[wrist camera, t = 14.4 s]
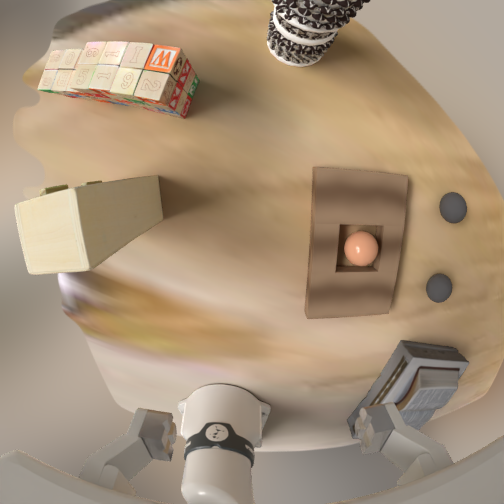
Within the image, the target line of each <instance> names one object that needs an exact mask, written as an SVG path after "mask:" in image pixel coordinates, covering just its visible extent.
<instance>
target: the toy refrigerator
mask: <svg viewBox="0 0 504 504" xmlns="http://www.w3.org/2000/svg"><path fill="white" fill-rule="evenodd" d="M15 215H16V221H17V226H18V231H19V235H20V240H21V245H22V250H23V253H24V258H25V262H26V265H27V269H28V272H29V273H30V274H32V275H40V274H53V273H66V272H80V271H89V270H92V269H94V268H95V267H97V266H98V265H99V264H101V263H102V262H103V261H105V260H106V259H107V258H109V257H110V256H111V255H113V254H114V253H116V252H117V251H118V250H120V249H121V248H122V247H124V246H125V245H127V244H128V243H129V242H131V241H132V240H134V239H135V238H137V237H138V236H140V235H141V234H143V233H144V232H146V231H147V230H149V229H150V228H152V227H153V226H155V225H156V224H158V223H159V222H161V221H162V220H163V211H162V204H161V196H160V187H159V179H158V176H157V175H155V176H145V177H137V178H130V179H122V180H116V181H109V182H103V183H102V181H94V182H86V183H82V184H81V186H79V187H74V188H69V189H68V185H67V184H66V185H60V186H55V187H49V188H44V189H41V190H40V197H36V198H33V199H29V200H26V201H23V202H20V203H17V204H16V205H15Z"/></svg>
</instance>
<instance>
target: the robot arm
mask: <svg viewBox="0 0 504 504" xmlns="http://www.w3.org/2000/svg"><path fill="white" fill-rule="evenodd" d="M270 408H271V407H270V405H268V404H266V403H264V402H261V401H259V400H258V399H256V398H255V397H254V396H253V395H252V394H251V393H249V392H248V391H246V390H244V389H241V388H239V387H235V386H231V385H224V384H215V385H208V386H204V387H201V388H199V389H197V390H196V391H194V392H193V393H192V394H191V395H190V396H189V397H188V398H187V399H184V400H182V401H180V402H179V403H178V409H179V411H180V412H181V414H182V416H183V420H182V426H181V434H182V435H183V437H184V438H185V440H187V442H186V446H185V450H184V458H185V460H186V463H185V469H184V474H183V480H182V486H181V491H182V494H183V497H184V498H185V500H186V501H187V502H188V504H255V502H254V497H253V489H252V475H251V468H252V466H253V464H254V456H255V455H254V448H255V447H258V448H260V447H261V445H262V430H263V428H264V425H265V423H266V420H267V418H268V416H269V413H270ZM359 414H360V417H358V418H357V419H356V422H355V433H356V436H357V438H359V439H360V440H361V442H360V444H359V445H360V448H361V451H362V454H363V455H366V454H371V453H376V452H380V453H381V454H382V455H383V456H384V457H386V458H387V459H388V460H389V461H391V462H392V463H393V464H394V465H396V466H397V467H398V468H399V469H400V470H402V471H403V472H404V474H403V475H402V476H401V477H400V479H399V480H398V482H397V483H398V487H394V488H391V489H388V490H385V491H381V492H378V493H374V494H370V495H366V496H362V497H358V498H354V499H349V500H345V501H340V502H334V503H329V504H504V435H503V436H501V437H499V438H498V439H496V440H495V441H493V442H492V443H490V444H488V445H487V446H485V447H483V448H482V449H480V450H478V451H477V452H475V453H473V454H471V455H469V456H468V457H466V458H464V459H462V460H460V461H458V462H456V463H453V461H452V459H451V457H450V455H449V453H448V452H447V450H446V448H445V446H444V445H443V444H441V443H439V442H437V441H436V440H434V439H432V438H430V437H428V436H426V435H425V434H423V433H421V432H420V431H418V430H416V429H414V428H413V427H411V426H409V425H408V426H406V425H405V423H404V421H403V419H402V417H401V415H400V413H399V411H398V409H397V407H396V406H395V404H394V403H393V402H388V403H384V404H378V405H373V406H368V407H363V408H361V410H360V412H359ZM172 421H173V416H172V413H167V412H161V411H154V410H149V409H143V408H138V409H137V410H136V411H135V414H134V416H133V419H132V422H131V424H130V427H129V429H128V432H127V434H123V435H121V436H120V437H118V438H117V439H115V440H114V441H112V442H110V443H109V444H107V445H106V446H104V447H103V448H101V449H100V450H98V451H97V452H95V453H93V454H92V455H90V456H89V457H87V459H86V461H85V464H84V466H83V468H82V471H81V473H80V476H79V478H77V477H75V476H72V475H70V474H67V473H65V472H63V471H61V470H58V469H56V468H54V467H52V466H50V465H48V464H46V463H44V462H41V461H40V460H38V459H36V458H34V457H32V456H30V455H28V454H27V453H25V452H23V451H20V450H14V451H11V452H9V453H6V454H4V455H1V456H0V504H170V503H165V502H159V501H154V500H150V499H145V498H141V497H137V496H136V490H135V489H134V488H133V487H132V485H131V484H130V483H129V481H130V480H131V479H132V478H133V477H134V476H136V475H137V474H138V473H139V472H140V471H141V470H142V469H143V468H144V467H145V466H146V465H148V464H149V463H150V462H151V461H152V459H157V460H164V461H171V458H172V454H173V448H172V444H174V443H175V441H176V434H177V430H176V425H175V423H174V422H172Z"/></svg>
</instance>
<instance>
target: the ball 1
mask: <svg viewBox="0 0 504 504" xmlns="http://www.w3.org/2000/svg"><path fill="white" fill-rule="evenodd" d="M426 291H427V295H428V297H429V298H430V299H431V300H432V301H434V302H438V303H440V302H444V301H445V300H447V299H448V298H449V296H450V295H451V292H452V283H451V281H450V279H449V278H448V277H447V276H446V275H444V274H436V275H434V276H432V277H431V278H430V279H429V281H428V283H427V287H426Z"/></svg>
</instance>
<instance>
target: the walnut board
mask: <svg viewBox="0 0 504 504" xmlns="http://www.w3.org/2000/svg"><path fill="white" fill-rule="evenodd" d="M407 187H408V176H406V175H398V174H390V173H381V172H372V171H361V170H350V169H337V168H321V167H313V180H312V210H311V231H310V248H309V263H308V277H307V289H306V300H305V314H306V317H307V319H319V318H338V317H354V316H367V315H379V314H389V310H390V306H391V301H392V297H393V292H394V287H395V282H396V277H397V271H398V265H399V259H400V253H401V246H402V239H403V231H404V222H405V212H406V201H407ZM340 224H349V225H377V229H376V241H377V244H378V254H377V256H376V258H375V260H374V261H373V262H372V266H336V261H337V251H338V239H339V226H340Z"/></svg>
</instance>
